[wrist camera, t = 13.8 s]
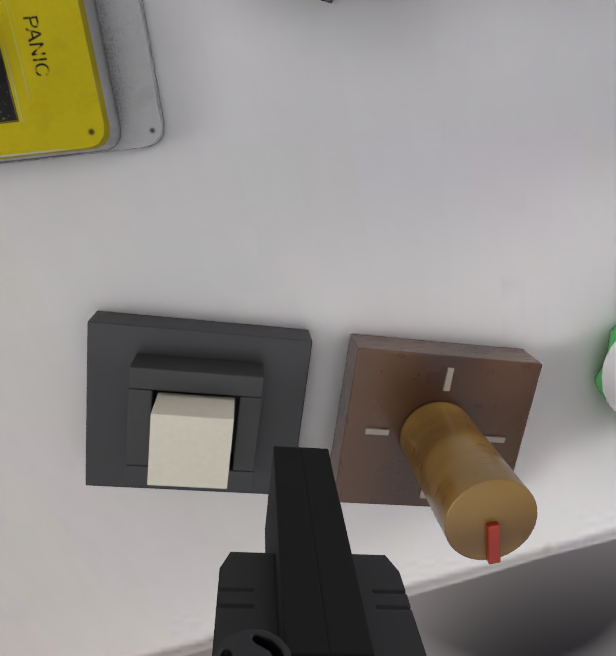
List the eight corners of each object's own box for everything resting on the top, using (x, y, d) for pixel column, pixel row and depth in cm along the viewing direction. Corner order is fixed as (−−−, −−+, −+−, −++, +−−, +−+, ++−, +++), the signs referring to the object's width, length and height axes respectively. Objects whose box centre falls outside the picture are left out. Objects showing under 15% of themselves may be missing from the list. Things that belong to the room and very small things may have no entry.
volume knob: (397, 407, 33) (445, 492, 25) (471, 395, 33) (541, 476, 25) (402, 473, 34) (449, 572, 26) (472, 461, 34) (540, 556, 26)
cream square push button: (234, 397, 30) (233, 419, 28) (228, 462, 31) (227, 489, 29) (158, 391, 30) (150, 413, 27) (154, 458, 31) (146, 485, 28)
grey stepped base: (308, 329, 33) (316, 353, 29) (288, 477, 36) (293, 516, 32) (96, 310, 32) (76, 333, 28) (94, 466, 35) (75, 506, 31)
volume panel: (523, 348, 35) (544, 364, 33) (487, 487, 38) (504, 512, 36) (350, 333, 34) (358, 348, 31) (327, 479, 37) (333, 504, 34)
